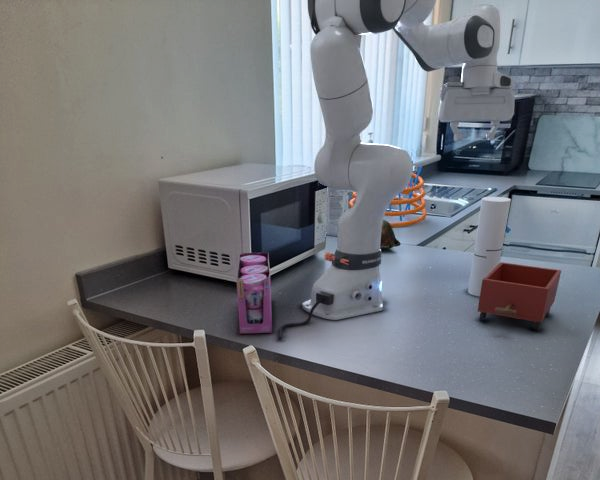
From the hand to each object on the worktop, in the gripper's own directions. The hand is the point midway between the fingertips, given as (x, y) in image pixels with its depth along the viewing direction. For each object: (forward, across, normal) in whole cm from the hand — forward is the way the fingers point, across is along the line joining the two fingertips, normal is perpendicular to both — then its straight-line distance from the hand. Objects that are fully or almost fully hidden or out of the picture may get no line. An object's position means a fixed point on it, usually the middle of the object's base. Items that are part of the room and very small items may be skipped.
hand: (473, 140), depth 146 cm
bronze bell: (+32, -15, +41) cm, 54 cm away
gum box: (+41, -64, -16) cm, 77 cm away
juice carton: (+28, -24, +68) cm, 78 cm away
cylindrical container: (+40, +1, -11) cm, 41 cm away
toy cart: (+43, -2, -32) cm, 53 cm away
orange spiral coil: (+25, +6, +90) cm, 94 cm away
